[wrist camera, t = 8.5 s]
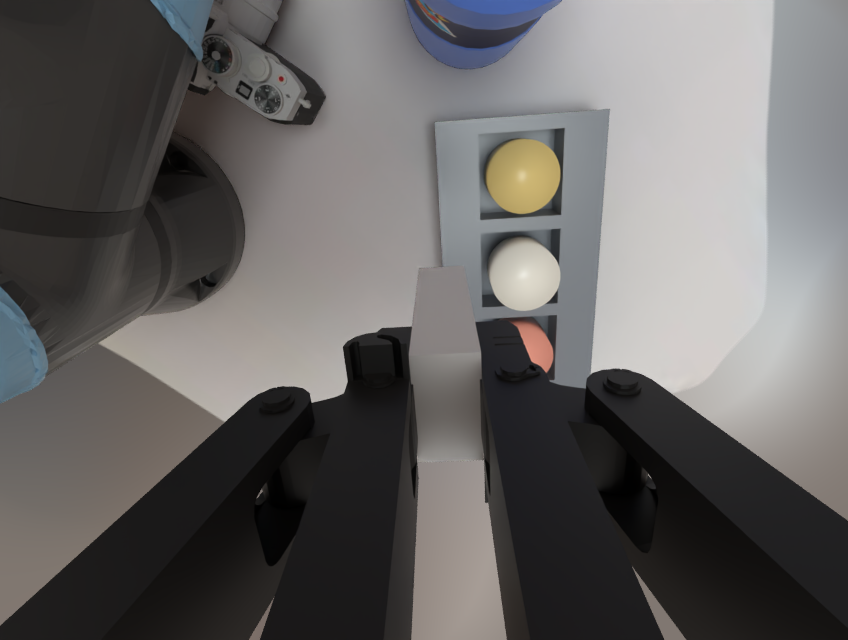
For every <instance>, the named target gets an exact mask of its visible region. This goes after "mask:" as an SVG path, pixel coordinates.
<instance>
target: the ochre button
mask: <svg viewBox="0 0 848 640" xmlns="http://www.w3.org/2000/svg"><path fill="white" fill-rule="evenodd" d="M484 182H485V186H486V189H487V191H488V192H489V194H490V195H491V197H492V198H493V199H494V200H495V202H496V203H497V204H498V205H499V206H500V207H502V208H503V209H505V210H507V211H509V212H512V213H517V214H526V213H531V212H534V211H537V210H539V209H540V208H542V207H543V206H545V205H546V204H547V203H548V202H549V201H550V200H551V199H552V197H553V196H554V194H555V193H556V191H557V188H558V186H559V182H560V165H559V162H558V159H557V157H556V155H555V154H554V152H553V151H552V150H551V149H550V148H549V147H548V146H547V145H545V144H544V143H542V142H539V141H536V140H531V139H523V138H515V139H510V140H507V141H505V142H503V143H501V144H500V145H498V146H497V147H496V148H495V149H494V150H493V151H492V152H491V154H490V155H489V157H488V159H487V161H486V164H485V168H484Z"/></svg>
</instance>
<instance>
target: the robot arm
mask: <svg viewBox="0 0 848 640" xmlns="http://www.w3.org/2000/svg"><path fill="white" fill-rule="evenodd" d="M213 1H214V0H0V403H2V402H5V401H7V400H9V399H11V398H13V397H15V396H17V395H19V394H21V393H24V392H27V391H30V390H31V389H33V388H34V387H36V386H38V385H39V384H40V382H41V381H43V380H44V378H45V377H46V376H48V375H49V374H51V373H52V372H54V371H55V370H57V369H59V368H60V367H62V366H63V365H65V364H66V363H68V362H69V361H71V360H72V359H74V358H76V357H77V356H79V355H80V354H81V353H83V352H85V351H87V350H88V349H90V348H91V347H93V346H94V345H96V344H97V343H99V342H100V341H102V340H104V339H105V338H107V337H108V336H110V335H111V334H113V333H114V332H116V331H118V330H119V329H121V328H122V327H124V326H125V325H127V324H128V323H130V322H131V321H133V320H135V319H136V318H137V317H139V316H143V315H152V314H161V313H170V312H176V311H181V310H184V309H187V308H190V307H193V306H195V305H197V304H199V303H201V302H203V301H204V300H206V299H207V298H209V297H210V296H212V295H213V294H214V293H216V292H217V291H218V290H220V289H221V288H222V287H223V286H224V285H225V284H226V283H227V282H228V281H229V279H230V278H231V277H232V275H233V274H234V272H235V271H236V269H237V267H238V264H239V262H240V259H241V256H242V252H243V247H244V236H245V234H244V221H243V215H242V211H241V207H240V204H239V201H238V199H237V196H236V194H235V192H234V190H233V188H232V186H231V184H230V182H229V181H228V179H227V177H226V176H225V174H224V173H223V172H222V170H221V169H220V168H219V167H218V165H217V164H216V163H215V162H214V161H213V160H212V159H211V158H210V157H209V156H208V155H207V154H206V153H205V152H204V151H202V150H201V149H200V148H199V147H197V146H196V145H195V144H193V143H192V142H190V141H189V140H187V139H185V138H184V137H182V136H180V135H178V134H176V133H173V132H172V131H173V128H174V126H175V123H176V120H177V117H178V114H179V111H180V109H181V106H182V103H183V100H184V97H185V94H186V92H187V89H188V86H189V83H190V80H191V77H192V75H193V72H194V69H195V66H196V63H197V61H198V62H201V60H202V58H203V49H202V46H201V44H202V40H203V36H204V33H205V29H206V26H207V22H208V19H209V15H210V11H211V8H212V4H213ZM343 351H344V358H345V365H346V371H347V378H348V383H347V386H346V389H345V392H344V394H342V395H340V396H337V397H334V398H331V399H327V400H323V401H318V402H314V403H311V398H310V394H309V392H307V391H306V390H305V389H303V388H298V387H285V386H282V387H277V388H276V387H275V388H272V389H269V390H267V391H265V392H263V393H260V394H258V395H256V396H255V397H254V398H252V399H251V400H249V401H248V402H247V403H246V404H245V405H244V406H242V407H241V408H240V409H239V410H238V411H237V412H236V413H235V414H234V415H233V416H231V417H230V418H229V419H228V420H227V421H226V422H225V423H224V424H223V425H221V426H220V427H219V428H218V429H217V430H216V431H215V432H214V433H213V434H212V435H211V436H209V437H208V438H207V439H206V440H205V441H204V442H203V443H202V444H200V445H199V446H198V447H197V448H196V449H195V450H194V451H193V452H192V453H191V454H189V455H188V456H187V457H186V458H185V459H184V460H183V461H182V462H181V463H179V464H178V465H177V466H176V467H175V468H174V469H173V470H172V471H171V472H170V473H169V474H167V475H166V476H165V477H164V478H163V479H162V480H161V481H160V482H159V483H157V484H156V485H155V486H154V487H153V488H152V489H151V490H150V491H149V492H147V494H145V495H144V496H143V497H142V498H141V499H140V500H139V501H138V502H137V503H135V504H134V505H133V506H132V507H131V508H130V509H129V510H128V511H127V512H125V513H124V514H123V515H122V516H121V517H120V518H119V519H118V520H117V521H115V522H114V523H113V524H112V525H111V526H110V527H109V528H108V529H107V530H105V531H104V532H103V533H102V534H101V535H100V536H99V537H98V538H97V539H96V540H94V542H92V543H91V544H90V545H89V546H88V547H87V548H86V549H85V550H83V551H82V552H81V553H80V554H79V555H78V556H77V557H76V558H75V559H73V560H72V561H71V562H70V563H69V564H68V565H67V566H66V567H65V568H63V569H62V570H61V571H60V572H59V573H58V574H57V575H56V576H55V577H54V578H52V579H51V580H50V581H49V582H48V583H47V584H46V585H45V586H44V587H43V588H42V589H40V590H39V591H38V592H37V593H36V594H35V595H34V596H33V597H32V598H30V599H29V600H28V601H27V602H26V603H25V604H24V605H23V606H22V607H20V608H19V609H18V610H17V611H16V612H15V613H14V614H13V615H12V616H11V617H9V618H8V619H7V620H6V621H5V622H4V623H3V624H2V625H1V626H0V640H249V638H250V636H251V635H252V633H253V631H254V630H255V628H256V626H257V625H258V623H259V621H260V620H261V618H262V616H263V615H264V613H265V611H266V610H267V608H268V606H269V605H270V603H271V601H272V600H273V598H274V600H273V603H272V606H271V609H270V612H269V615H268V618H267V621H266V623H265V626H264V629H263V632H262V635H261V638H260V640H411V632H412V631H411V630H412V610H413V588H414V565H415V545H416V544H415V542H416V522H417V500H418V479H419V478H418V466H417V456H418V462H419V463H420V462H446V461H471V460H484V471H485V502H486V503H488V504H489V511H490V518H491V526H492V533H493V540H494V548H495V555H496V563H497V570H498V577H499V584H500V591H501V599H502V606H503V614H504V621H505V629H506V636H507V640H664V638H663V636H662V633H661V631H660V629H659V627H658V625H657V622H656V620H655V618H654V615H653V613H652V611H651V609H650V606H649V604H648V602H647V600H646V597H645V595H644V593H643V591H642V588H641V586H640V584H639V582H638V579H637V577H636V575H635V572H634V570H633V568H634V569H635V571H636V572H637V573H638V575H639V576H640V577H641V579H642V580H643V581H644V583H645V584H646V585H647V587H648V588H649V590H650V591H651V592H652V594H653V595H654V596H655V598H656V599H657V600H658V602H659V603H660V604H661V606H662V607H663V608H664V610H665V611H666V613H667V614H668V615H669V617H670V618H671V619H672V621H673V622H674V623H675V624H676V626H677V627H678V629H679V630H680V631H681V633H682V634H683V636H684V637H685V638H686V640H848V521H847V520H846V519H845V518H843V517H842V516H840V515H839V514H838V513H836V512H835V511H834V510H832V509H831V508H829V507H828V506H826V505H825V504H824V503H822V502H821V501H820V500H818V499H817V498H815V497H814V496H813V495H811V494H810V493H809V492H807V491H806V490H804V489H803V488H802V487H800V486H799V485H797V484H796V483H795V482H793V481H792V480H790V479H789V478H788V477H786V476H785V475H784V474H782V473H781V472H779V471H778V470H777V469H775V468H774V467H772V466H771V465H770V464H768V463H767V462H765V461H764V460H763V459H761V458H760V457H759V456H757V455H756V454H754V453H753V452H751V451H750V450H749V449H747V448H746V447H745V446H743V445H742V444H741V443H739V442H738V441H736V440H735V439H734V438H732V437H731V436H729V435H728V434H727V433H725V432H724V431H722V430H721V429H720V428H718V427H717V426H715V425H714V424H713V423H711V422H710V421H708V420H707V419H706V418H704V417H703V416H701V415H700V414H699V413H697V412H696V411H695V410H693V409H692V408H691V407H689V406H688V405H686V404H685V403H683V402H682V401H681V400H679V399H678V398H677V397H675V396H674V395H672V394H671V393H670V392H668V391H667V390H666V389H664V388H663V387H661V386H660V385H659V384H657V383H656V382H654V381H653V380H652V379H650V378H648V377H646V376H644V375H642V374H639V373H635V372H632V371H630V370H626V369H622V370H620V369H610V370H601V371H598V372H595V373H592V374H591V375H590V376H589V377H588V378H587V381H586V388H578V387H570V386H564V385H559V384H556V383H553V382H550V381H549V379H548V376H547V374H546V372H545V371H544V369H543V368H542V367H541V366H539V365H537V364H535V363H533V362H532V361H531V359H530V357H529V354H528V352H527V349H526V347H525V344H524V342H523V339H522V337H521V335H520V332H519V330H518V327H517V326H515V325H514V324H512V323H510V322H509V321H507V320H501V321H483V322H475V319H474V314H473V309H472V304H471V299H470V294H469V290H468V285H467V280H466V275H465V270H464V266H450V267H433V268H419V273H418V282H417V290H416V298H415V307H414V315H413V323H412V327H396V328H382V329H380V330H379V331H378V332H376V333H368V334H364V335H361V336H357V337H355V338H353V339H351V340H349V341H347V343H346V344H345V345H344V346H343ZM648 474H649V475H650V476H651V478H652V479H651V478H650V477H649V476H648ZM261 489H262V490H263V492H262V493H261V494H260V496H259V497H258V498H257V496H258V494H259V492H260V490H261ZM256 498H257V499H256ZM631 565H632V566H631ZM632 567H633V568H632ZM274 596H275V597H274Z"/></svg>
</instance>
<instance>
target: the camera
mask: <svg viewBox="0 0 848 640" xmlns="http://www.w3.org/2000/svg"><path fill="white" fill-rule="evenodd" d="M282 1H283V0H214V1H213V4H212V8H211V11H210V15H209V19H208V22H207V26H206V29H205V33H204V36H203V40H202V44H201V46H202V49H203V58H202V60H201V62H198V61H197V63H196V66H195V69H194V72H193V75H192V77H191V80H190V83H189V86H188V89H189V90H191V91H193V92H196V93H199V94H202V95H206V94H207V93H208V92H209V91H212V90H213V88H214V87H215V86H218V87H219V88H221V89H222V91H223V92H224V93H225V94H227V95H229V96H231V97H233V98H236V99H238V100H239V101H241V102H242V103H244V104H245V105H247V106H248V107H250V108H252V109H253V110H255V111H256V112H258V113H259V114H261V115H262V116H264V117H266V118H267V119H269V120H270V121H273V122H277V123H281V124H296V125H311V124H312V123H313V121H314V119H315V117H316V115H317V113H318V112H319V110H320V108H321V106H322V104H323V102H324V100H325V98H326V96H325V93H324V91H323V90H322V88H321V87H320V86H319V84H318V83H317V82H316V81H315V80H314V79H313V78H311V77H310V76H308V75H307V74H306V73H304V72H303V71H301V70H300V69H299V68H297V67H296V66H294V65H293V64H292V63H290V62H289V61H288V60H286V59H285V58H283V57H282V56H280V55H279V54H278V53H276V52H275V51H273V50H272V49H271V48H269V47H268V46H266V45H265V44H264V43H265V42H266V40H267V38H268V35H269V33H270V31H271V29H272V27H273V25H274V23H275V22H277V20H278V18H279V16H278V15H277V12H278V10H279V8H280V6H281V4H282Z"/></svg>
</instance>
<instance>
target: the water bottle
mask: <svg viewBox="0 0 848 640" xmlns="http://www.w3.org/2000/svg"><path fill="white" fill-rule="evenodd" d="M561 1H562V0H405V3H406V7H407V11H408V15H409V18H410V22H411V25H412V28H413V30H414V32H415V34H416V36H417V38H418V40H419V42H420V43H421V44H422V45H423V47H424V48H425V49H426V50H427V52H429V53H430V54H431V55H432V56H433V57H435V58H436V59H437V60H439V61H441V62H442V63H444V64H446V65H449V66H452V67H456V68H459V69H475V68H481V67H484V66H487V65H489V64H492V63H494V62H496V61H497V60H499V59H500V58H502V57H504V56H505V55H506V54H507V53H508V52H509V51H510V50H511V49H512V48H513V47H514V46H515V45H516V44H517V43H518V42H519V41H520V40H521V39H522V38H523V37H524V36H525V35H526V34H527V33H528V32H529V30H530V29H531V28H532V27H533V26H534V25H535V24H536V23H537V21H538V20H539V19H540V18H541V16H542V15H543V14H544V13H546V12H547V11H549V10H550V9H552V8H553V7H555V6H556V5H558V4H559V3H560V2H561Z"/></svg>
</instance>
